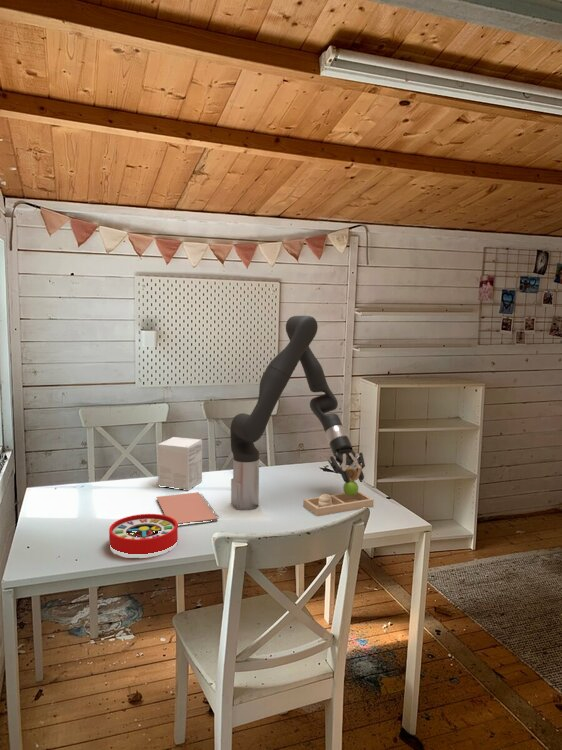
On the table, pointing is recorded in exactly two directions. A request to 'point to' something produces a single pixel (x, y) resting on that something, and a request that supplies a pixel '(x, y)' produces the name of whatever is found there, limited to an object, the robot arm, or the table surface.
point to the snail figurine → (352, 481)
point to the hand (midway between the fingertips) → (355, 480)
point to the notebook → (187, 508)
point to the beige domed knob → (325, 500)
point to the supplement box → (180, 463)
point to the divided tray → (338, 503)
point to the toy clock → (143, 533)
